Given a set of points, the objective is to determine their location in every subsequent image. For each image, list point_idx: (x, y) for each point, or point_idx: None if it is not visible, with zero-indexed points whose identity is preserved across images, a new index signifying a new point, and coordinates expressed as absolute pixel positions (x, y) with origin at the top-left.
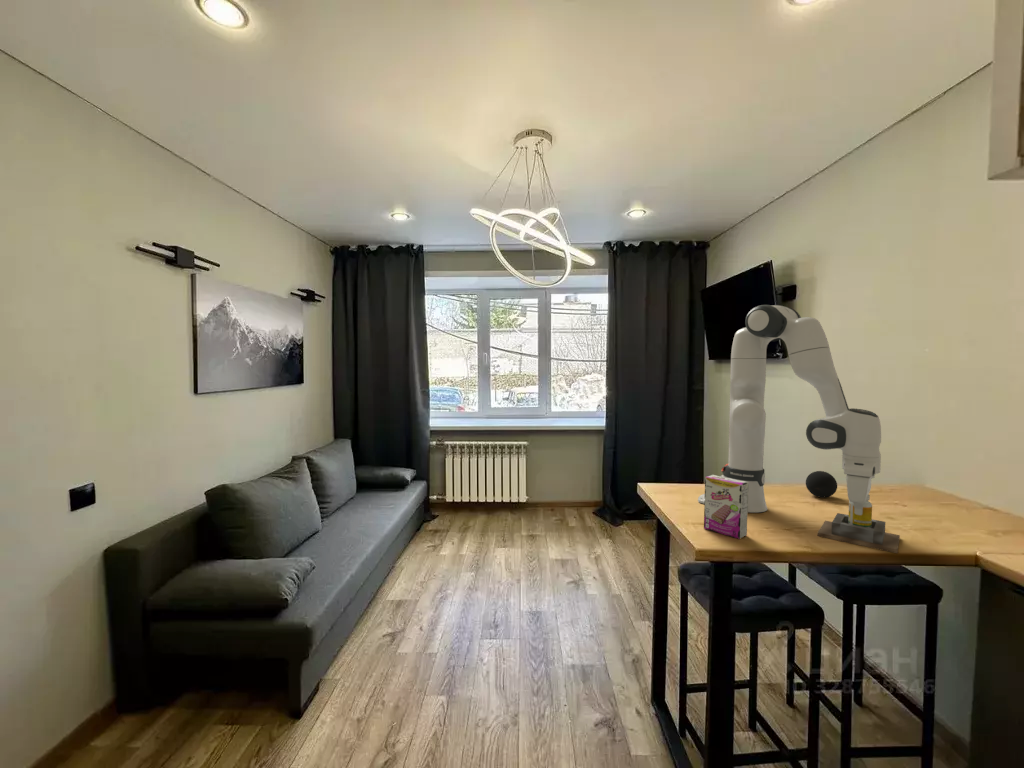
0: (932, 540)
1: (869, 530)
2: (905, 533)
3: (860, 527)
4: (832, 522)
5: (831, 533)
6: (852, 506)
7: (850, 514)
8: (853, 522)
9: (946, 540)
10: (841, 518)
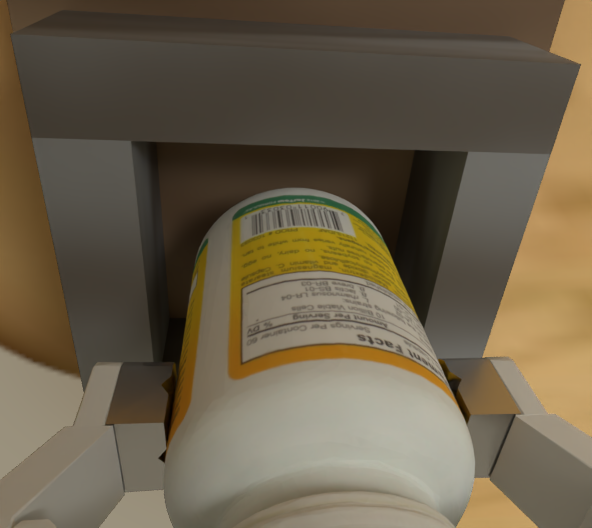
0: (492, 491)
1: (82, 368)
2: (564, 410)
3: (92, 313)
4: (16, 41)
5: (88, 7)
6: (194, 386)
7: (229, 275)
8: (200, 257)
9: (526, 522)
10: (327, 128)
